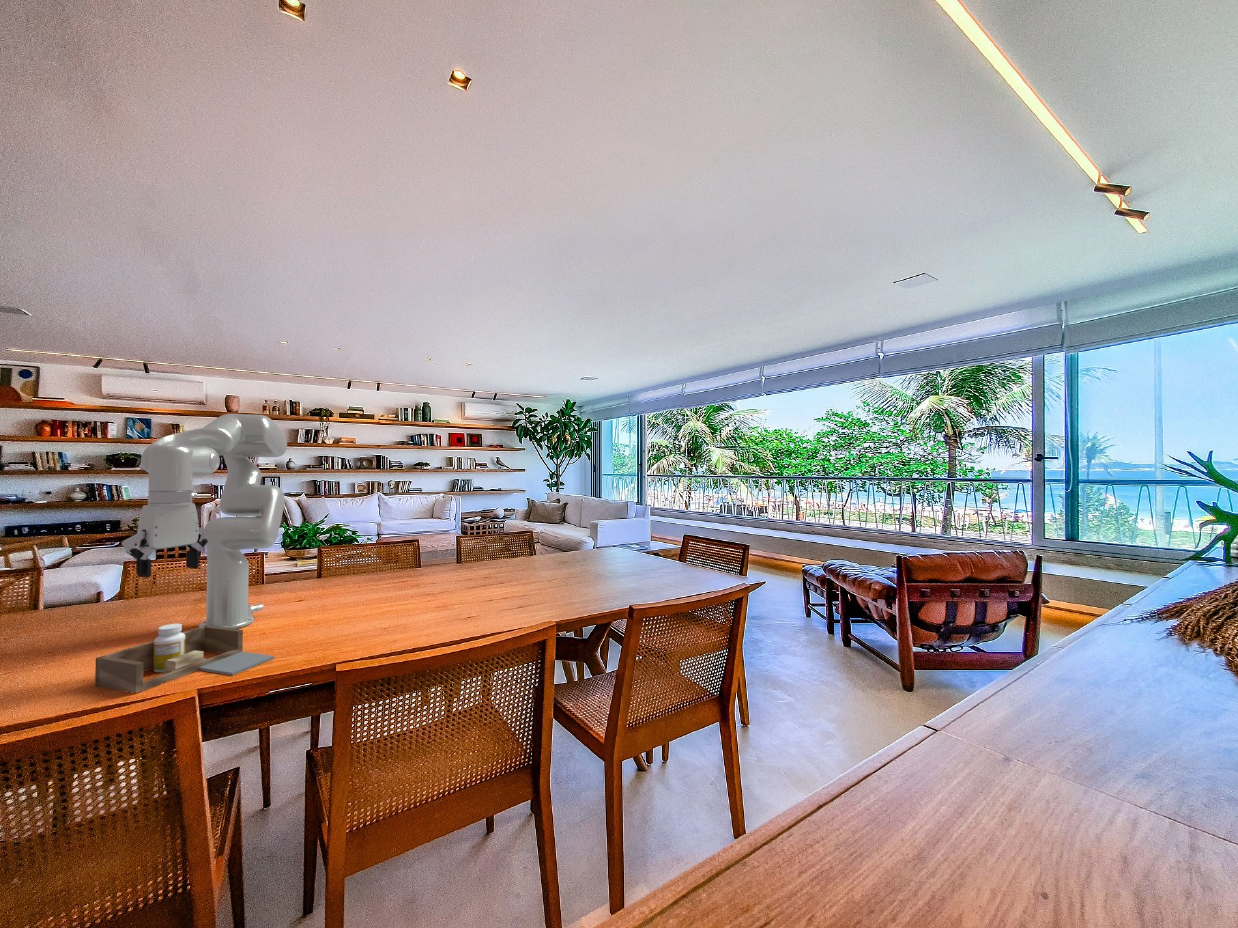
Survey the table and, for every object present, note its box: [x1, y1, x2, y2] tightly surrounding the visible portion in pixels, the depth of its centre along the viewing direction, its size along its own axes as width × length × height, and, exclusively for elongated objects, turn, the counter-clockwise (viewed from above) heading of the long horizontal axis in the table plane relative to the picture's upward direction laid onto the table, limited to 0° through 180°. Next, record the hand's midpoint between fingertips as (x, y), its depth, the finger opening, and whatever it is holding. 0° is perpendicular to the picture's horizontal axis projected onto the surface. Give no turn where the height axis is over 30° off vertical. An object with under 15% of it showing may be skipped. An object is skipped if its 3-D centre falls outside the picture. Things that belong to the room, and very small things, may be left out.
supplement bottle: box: [152, 623, 185, 673], centre depth 113 cm, size 5×5×10 cm
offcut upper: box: [166, 651, 205, 670], centre depth 111 cm, size 6×3×2 cm, turn 168°
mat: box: [198, 651, 275, 676], centre depth 115 cm, size 10×10×1 cm
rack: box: [94, 625, 244, 694], centre depth 112 cm, size 22×12×6 cm, turn 166°
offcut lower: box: [162, 657, 207, 675], centre depth 111 cm, size 7×3×2 cm, turn 166°
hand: (169, 572), depth 112 cm, fingers open, 9 cm apart
